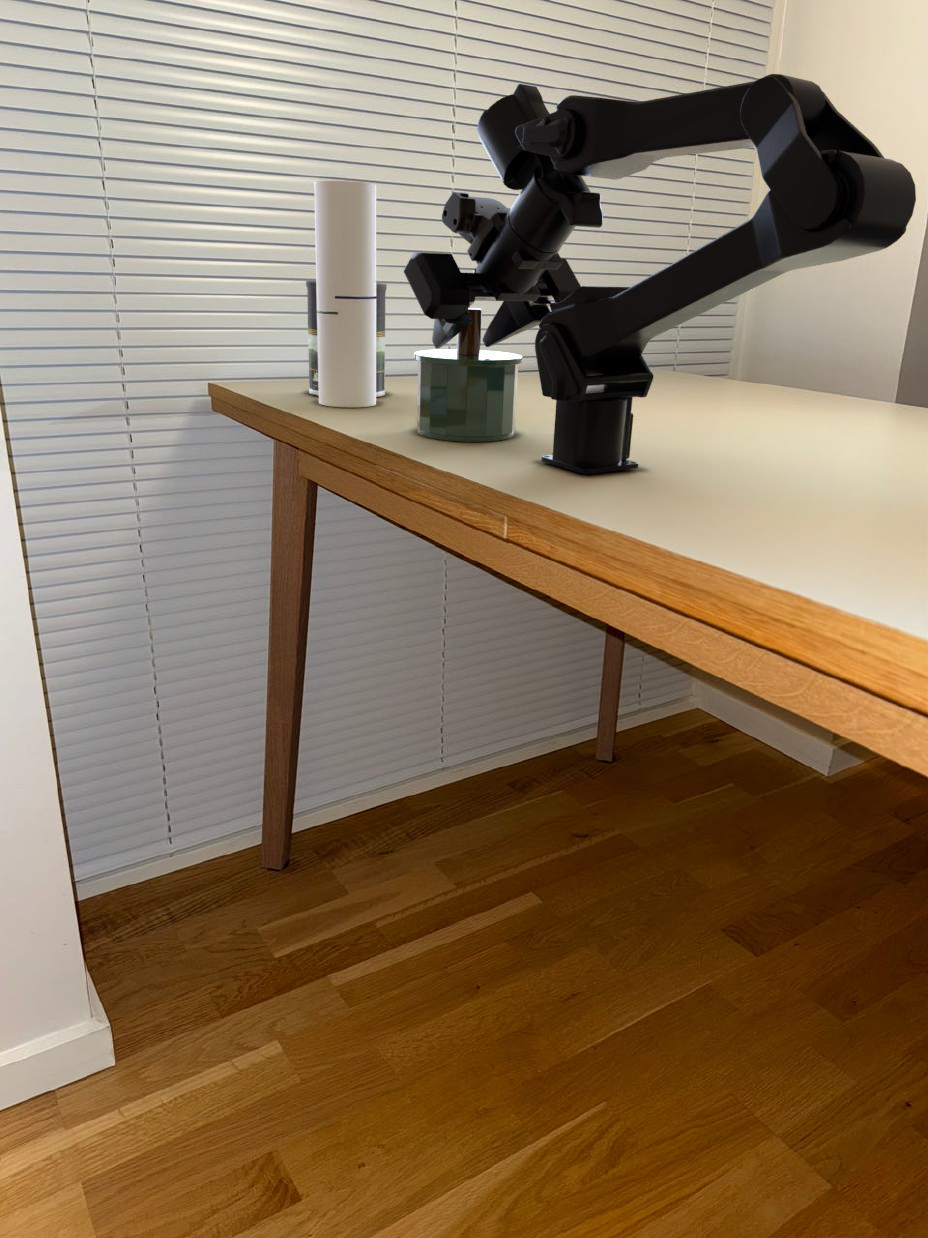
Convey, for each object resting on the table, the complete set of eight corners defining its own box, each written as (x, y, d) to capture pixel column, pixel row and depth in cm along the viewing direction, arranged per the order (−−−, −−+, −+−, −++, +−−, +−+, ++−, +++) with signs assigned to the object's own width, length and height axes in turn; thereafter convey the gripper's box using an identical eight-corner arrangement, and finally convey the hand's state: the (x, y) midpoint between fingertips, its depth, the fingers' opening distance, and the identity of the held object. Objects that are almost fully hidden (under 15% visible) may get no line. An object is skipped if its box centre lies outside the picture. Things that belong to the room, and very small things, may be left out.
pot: (451, 444, 92) (453, 367, 90) (400, 428, 100) (401, 356, 98) (533, 437, 98) (537, 364, 95) (478, 422, 106) (481, 354, 103)
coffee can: (381, 400, 120) (381, 284, 115) (301, 397, 120) (298, 281, 115) (390, 390, 129) (390, 282, 124) (316, 387, 130) (314, 279, 125)
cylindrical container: (372, 408, 113) (372, 181, 104) (314, 406, 113) (309, 179, 104) (379, 400, 120) (379, 186, 111) (323, 398, 120) (319, 184, 111)
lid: (451, 374, 89) (453, 311, 87) (394, 362, 98) (394, 305, 96) (543, 370, 95) (547, 311, 93) (482, 359, 104) (484, 305, 102)
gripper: (574, 171, 92) (499, 285, 104) (416, 153, 82) (354, 282, 94) (623, 257, 89) (541, 364, 101) (466, 251, 78) (395, 371, 91)
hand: (460, 344), depth 97 cm, fingers open, 6 cm apart
